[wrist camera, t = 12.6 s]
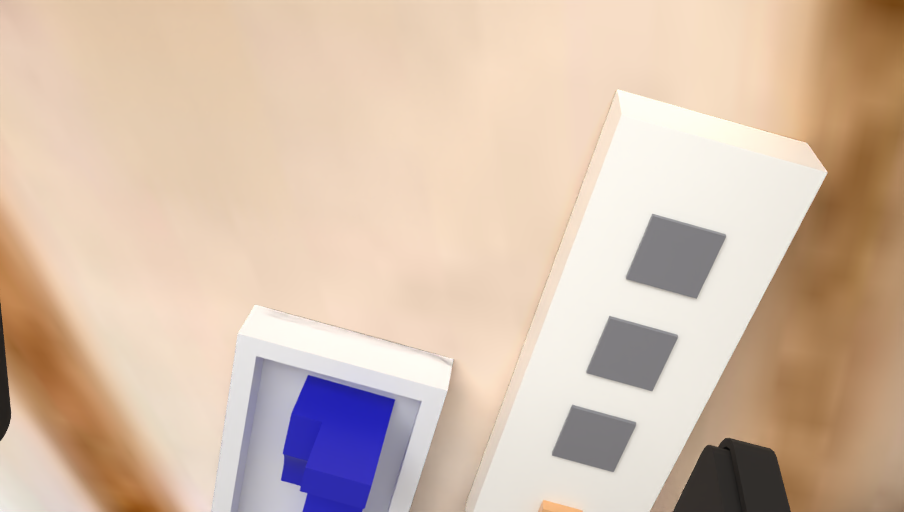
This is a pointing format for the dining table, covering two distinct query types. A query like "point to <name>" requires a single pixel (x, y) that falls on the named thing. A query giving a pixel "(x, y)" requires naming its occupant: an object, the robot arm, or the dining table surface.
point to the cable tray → (278, 387)
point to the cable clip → (335, 444)
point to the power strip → (642, 307)
